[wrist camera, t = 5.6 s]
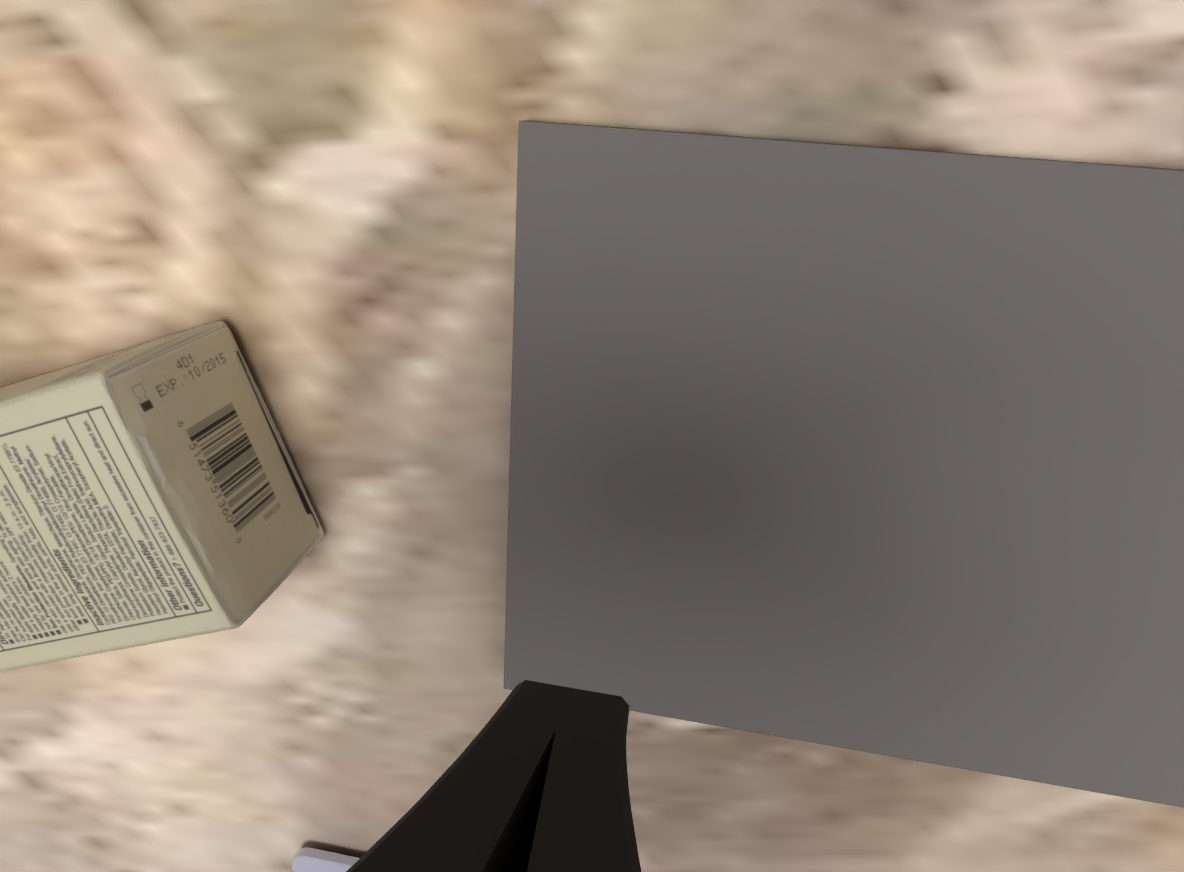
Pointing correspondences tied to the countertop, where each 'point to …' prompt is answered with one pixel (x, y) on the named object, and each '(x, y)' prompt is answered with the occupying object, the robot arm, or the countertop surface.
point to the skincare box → (142, 500)
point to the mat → (854, 447)
